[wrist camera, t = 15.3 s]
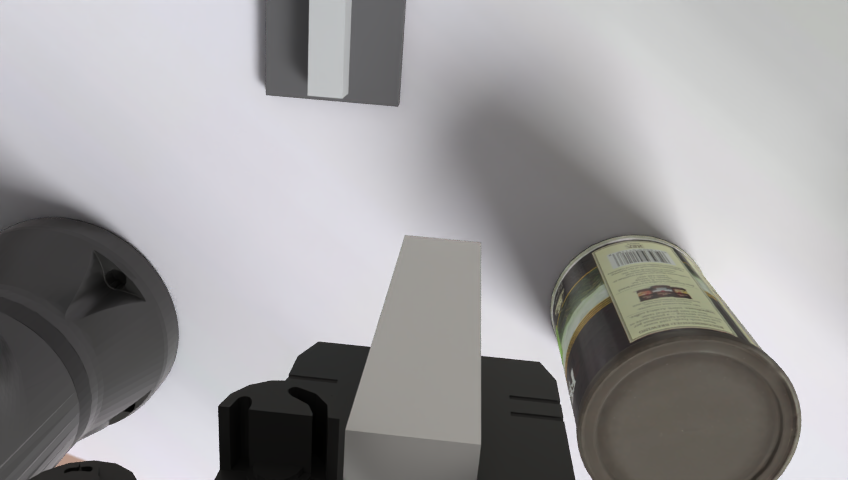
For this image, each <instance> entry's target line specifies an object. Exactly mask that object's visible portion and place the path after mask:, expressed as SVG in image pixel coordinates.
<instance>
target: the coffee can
mask: <svg viewBox="0 0 848 480" xmlns="http://www.w3.org/2000/svg"><path fill="white" fill-rule="evenodd" d="M551 320H552V326H553V329H554V332H555V335H556V337H557V341H558V346H559V350H560V354H561V359H562V364H563V368H564V372H565V377H566V381H567V386H568V391H569V395H570V400H571V405H572V409H573V413H574V417H575V422H576V432H577V442H578V448H579V452H580V456H581V458H582V461H583V463H584V466H585V468H586V470H587V472H588V473H589V475H590V476H591V478H592V480H777V479H778V478H779V477H780V476H781V475H782V473H783V472H784V471H785V469H786V467H787V466H788V464H789V463H790V461H791V459H792V457H793V455H794V453H795V450H796V448H797V444H798V441H799V437H800V431H801V410H800V404H799V401H798V398H797V394H796V392H795V389H794V387H793V385H792V383H791V381H790V380H789V378H788V377H787V375H786V374H785V372H784V371H783V370H782V369H781V368H780V367H779V366H778V364H777V363H776V362H775V361H774V360H773V359H772V358H770V357H769V356H768V355H767V354H766V353H765V352H764V351H763V350H762V349H761V348H760V346H759V345H758V344H757V343H756V341H755V340H754V339H753V337H752V336H751V335H750V334H749V332H748V331H747V330H746V329H745V327H744V326H743V325H742V324H741V322H740V321H739V320H738V319H737V317H736V316H735V315H734V314H733V312H732V311H731V310H730V309H729V307H728V306H727V304H726V303H725V302H724V301H723V300H722V299H721V297H720V296H719V295H718V294H717V292H716V291H715V290H714V288H713V287H712V286H711V285H710V283H709V282H708V281H707V280H706V278H705V277H704V276H703V274H702V272H701V270H700V268H699V267H698V266H697V265H696V263H695V262H694V261H693V259H692V258H691V257H690V256H689V255H687V254H686V253H685V252H684V251H683V250H681V249H680V248H678V247H677V246H675V245H673V244H671V243H669V242H667V241H664V240H662V239H658V238H655V237H649V236H640V235H630V236H620V237H615V238H611V239H608V240H605V241H602V242H600V243H597V244H595V245H592V246H591V247H589V248H588V249H586V250H585V251H583V252H582V253H581V254H579V255H578V256H577V257H576V258H575V259H574V260H572V261H571V262H570V263H569V265H568V266H567V267H566V268H565V270H564V271H563V273H562V274H561V276H560V277H559V279H558V281H557V283H556V286H555V288H554V291H553V294H552V300H551Z"/></svg>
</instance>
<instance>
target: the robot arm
mask: <svg viewBox="0 0 848 480" xmlns="http://www.w3.org/2000/svg"><path fill="white" fill-rule="evenodd" d="M178 339H179V330H178V321H177V315H176V311H175V308H174V305H173V302H172V299H171V297H170V294H169V292H168V290H167V288H166V286H165V284H164V283H163V281H162V279H161V278H160V276H159V275H158V273H157V272H156V271H155V270H154V268H153V267H152V266H151V265H150V263H149V262H148V261H147V260H146V259H145V258H144V257H143V256H142V255H141V254H140V253H139V252H138V251H136V250H135V249H134V248H133V247H132V246H130V245H129V244H128V243H126V242H125V241H124V240H122V239H121V238H119V237H117V236H116V235H114V234H112V233H110V232H108V231H106V230H104V229H102V228H100V227H97V226H95V225H92V224H89V223H86V222H82V221H78V220H73V219H67V218H38V219H32V220H28V221H24V222H21V223H18V224H16V225H13V226H11V227H9V228H7V229H5V230H3V231H1V232H0V480H136V478H135V476H134V474H133V473H132V472H131V471H129V470H127V469H125V468H123V467H122V466H120V465H118V464H115V463H108V462H101V461H84V462H75V463H68V464H65V465H61V466H58V467H55V466H56V465H57V464H58V463H59V461H60V460H61V459H62V458H63V457H64V456H65V454H66V453H67V452H68V451H69V450H70V449H71V448H72V447H73V445H74V444H75V443H76V442H78V441H80V440H82V439H84V438H86V437H88V436H90V435H92V434H94V433H96V432H98V431H100V430H102V429H104V428H105V427H107V426H108V425H111V424H114V423H116V422H118V421H120V420H122V419H124V418H126V417H127V416H129V415H131V414H132V413H134V412H135V411H136V410H138V409H139V408H140V407H141V406H142V405H144V404H145V403H146V402H147V401H148V400H149V398H150V397H151V396H152V395H153V394H154V392H155V391H156V390H157V389H158V388H159V386H160V385H161V384H162V383H163V381H164V380H165V378H166V377H167V375H168V374H169V372H170V370H171V368H172V366H173V363H174V360H175V357H176V353H177V348H178ZM218 417H219V453H220V470H219V472H218V474H217V476H216V478H215V480H575V476H574V471H573V465H572V460H571V455H570V450H569V445H568V439H567V434H566V429H565V424H564V422H563V413H562V408H561V405H560V398H559V393H558V387H557V382H556V380H555V379H554V378H553V376H552V375H551V374H550V373H549V372H548V371H547V370H546V369H545V367H544V366H543V365H542V364H541V363H540V362H534V361H524V360H515V359H505V358H495V357H486V356H481V242H471V241H460V240H450V239H439V238H429V237H418V236H408V235H405V237H404V240H403V244H402V247H401V250H400V253H399V257H398V260H397V263H396V266H395V270H394V273H393V276H392V279H391V283H390V286H389V289H388V292H387V296H386V299H385V302H384V305H383V309H382V312H381V315H380V318H379V322H378V325H377V328H376V331H375V335H374V338H373V341H372V344H371V347H366V346H356V345H346V344H337V343H327V342H317V343H316V344H315V345H313V346H312V347H310V348H309V349H307V350H306V351H305V352H303V353H302V354H300V355H299V356H298V357H297V359H296V361H295V363H294V365H293V367H292V369H291V371H290V373H289V377H288V378H287V379H286V381H267V382H262V383H257V384H252V385H248V386H246V387H244V388H242V389H240V390H238V391H236V392H234V393H232V394H230V395H229V396H228V397H227V398H226V399H225V400H224V401H223V402H222V403H221V404H220V405H219V406H218ZM54 467H55V468H54Z"/></svg>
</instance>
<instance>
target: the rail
mask: <svg viewBox="0 0 848 480" xmlns="http://www.w3.org/2000/svg"><path fill="white" fill-rule="evenodd" d="M405 7H406V0H266V95H271V96H283V97H294V98H305V99H317V100H328V101H340V102H351V103H363V104H374V105H386V106H397V107H398V105H399V103H400V87H401V71H402V55H403V39H404V23H405Z"/></svg>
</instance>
